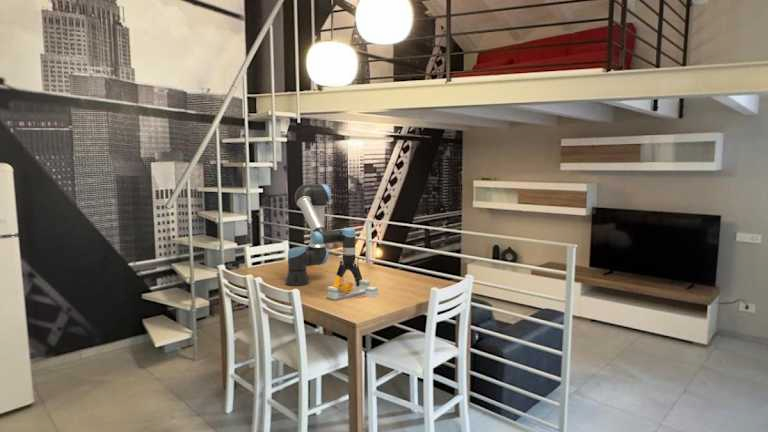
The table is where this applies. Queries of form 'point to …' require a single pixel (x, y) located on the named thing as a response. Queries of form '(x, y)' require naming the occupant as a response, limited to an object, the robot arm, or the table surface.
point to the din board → (348, 295)
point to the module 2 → (364, 284)
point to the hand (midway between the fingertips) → (349, 289)
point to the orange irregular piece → (342, 285)
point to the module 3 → (372, 292)
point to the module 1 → (332, 292)
